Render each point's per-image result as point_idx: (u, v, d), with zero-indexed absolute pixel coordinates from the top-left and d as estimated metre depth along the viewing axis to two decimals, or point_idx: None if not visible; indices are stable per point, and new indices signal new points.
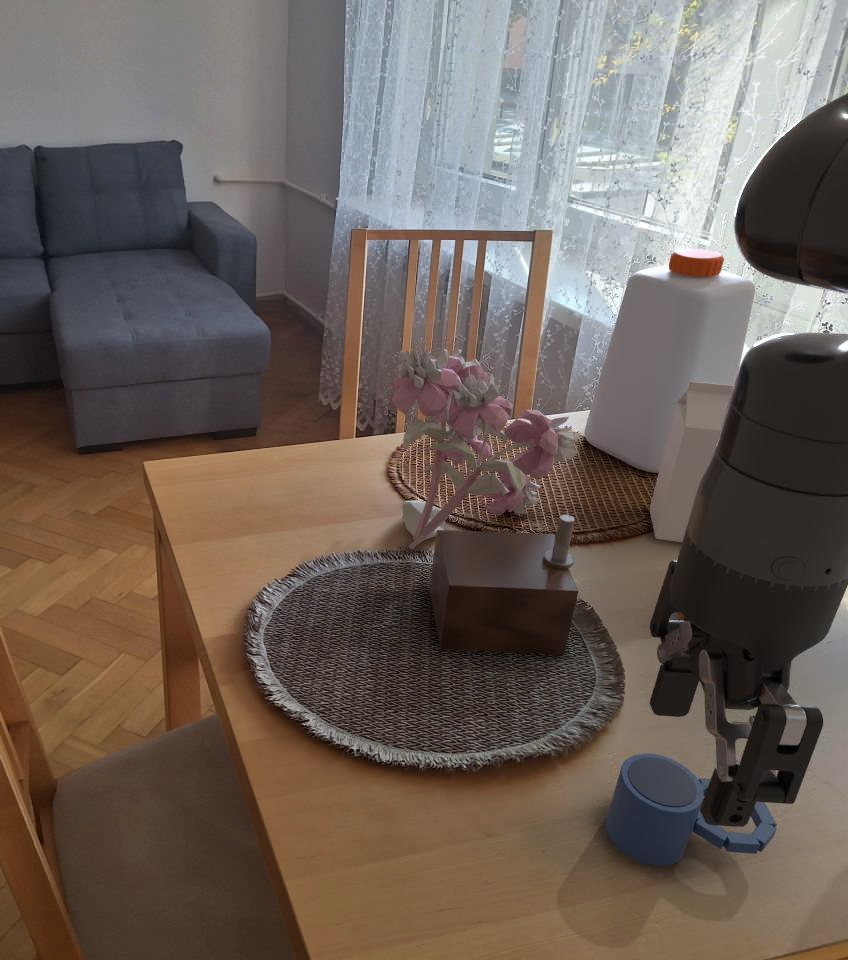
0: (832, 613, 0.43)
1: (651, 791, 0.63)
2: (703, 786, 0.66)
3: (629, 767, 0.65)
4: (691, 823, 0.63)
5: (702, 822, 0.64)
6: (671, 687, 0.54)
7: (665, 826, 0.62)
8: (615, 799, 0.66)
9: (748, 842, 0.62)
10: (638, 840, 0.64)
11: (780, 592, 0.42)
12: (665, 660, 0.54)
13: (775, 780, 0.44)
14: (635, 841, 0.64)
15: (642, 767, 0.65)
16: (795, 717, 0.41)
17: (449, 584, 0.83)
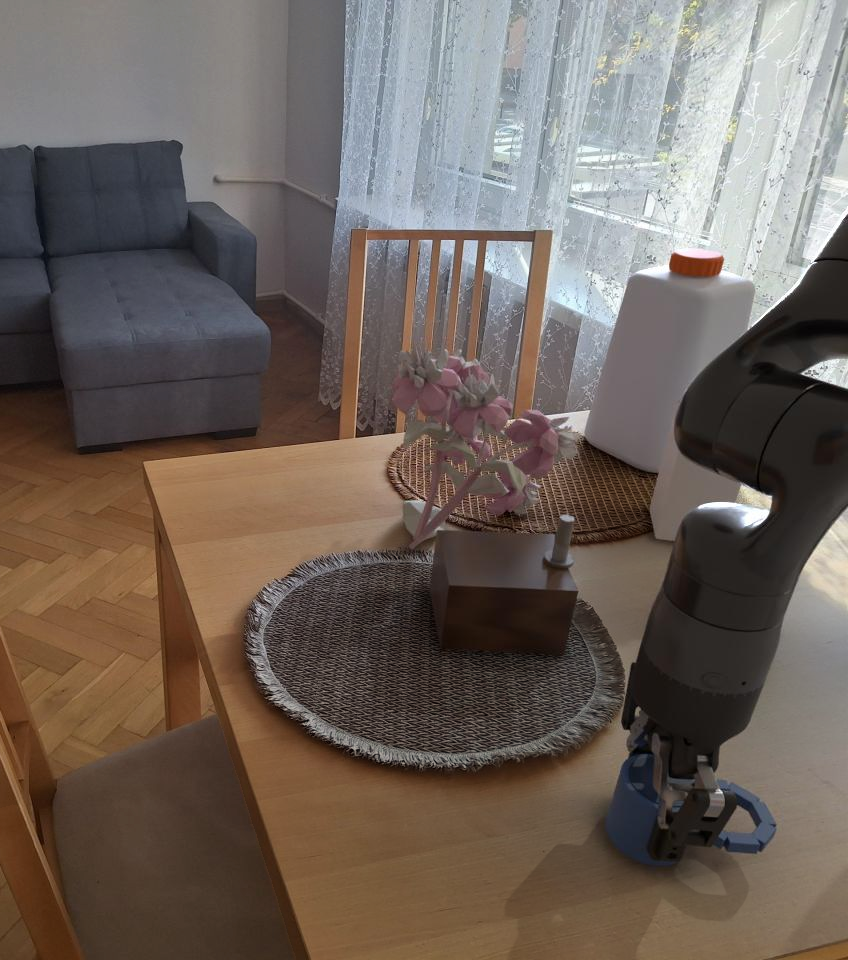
0: (749, 711, 0.56)
1: (651, 791, 0.63)
2: None
3: (629, 767, 0.65)
4: None
5: None
6: None
7: None
8: (615, 799, 0.66)
9: (748, 842, 0.62)
10: (638, 841, 0.64)
11: (709, 697, 0.55)
12: (632, 750, 0.66)
13: (698, 829, 0.59)
14: (635, 841, 0.64)
15: (642, 767, 0.65)
16: (716, 801, 0.55)
17: (449, 584, 0.83)
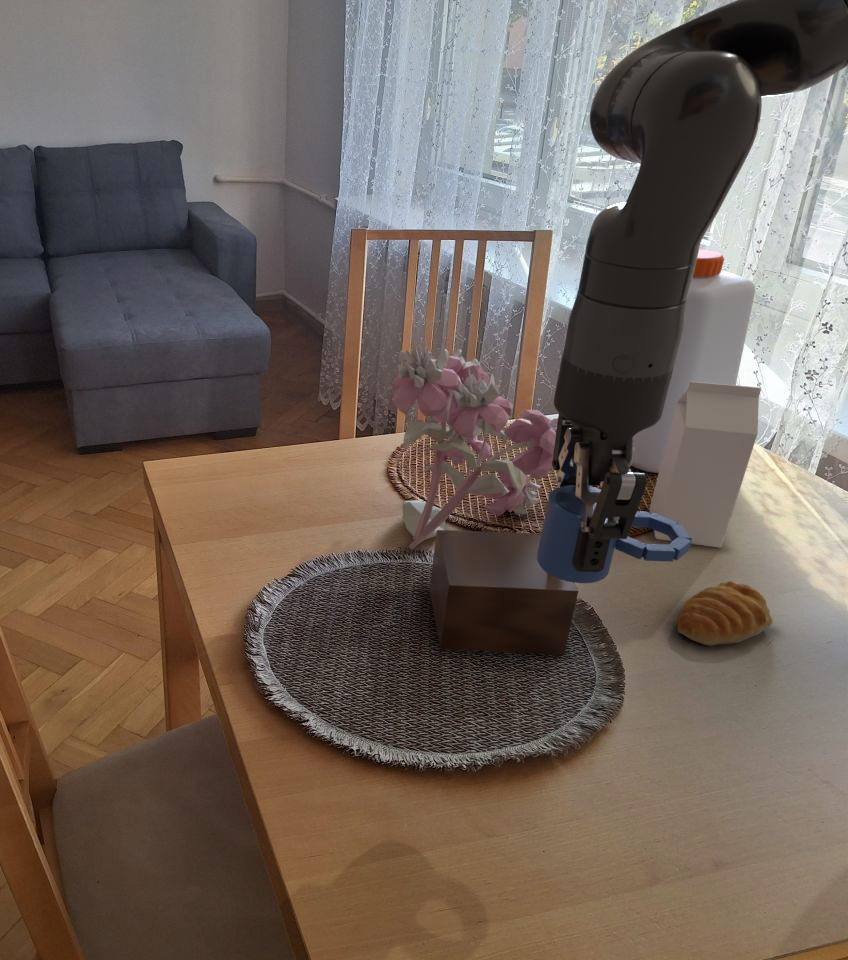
0: (658, 401, 0.61)
1: (576, 508, 0.68)
2: None
3: (556, 493, 0.70)
4: None
5: None
6: None
7: None
8: (544, 525, 0.70)
9: (664, 550, 0.67)
10: (565, 557, 0.68)
11: (619, 383, 0.60)
12: (561, 482, 0.71)
13: (615, 523, 0.63)
14: (562, 558, 0.69)
15: (569, 493, 0.70)
16: (628, 480, 0.60)
17: (449, 584, 0.83)
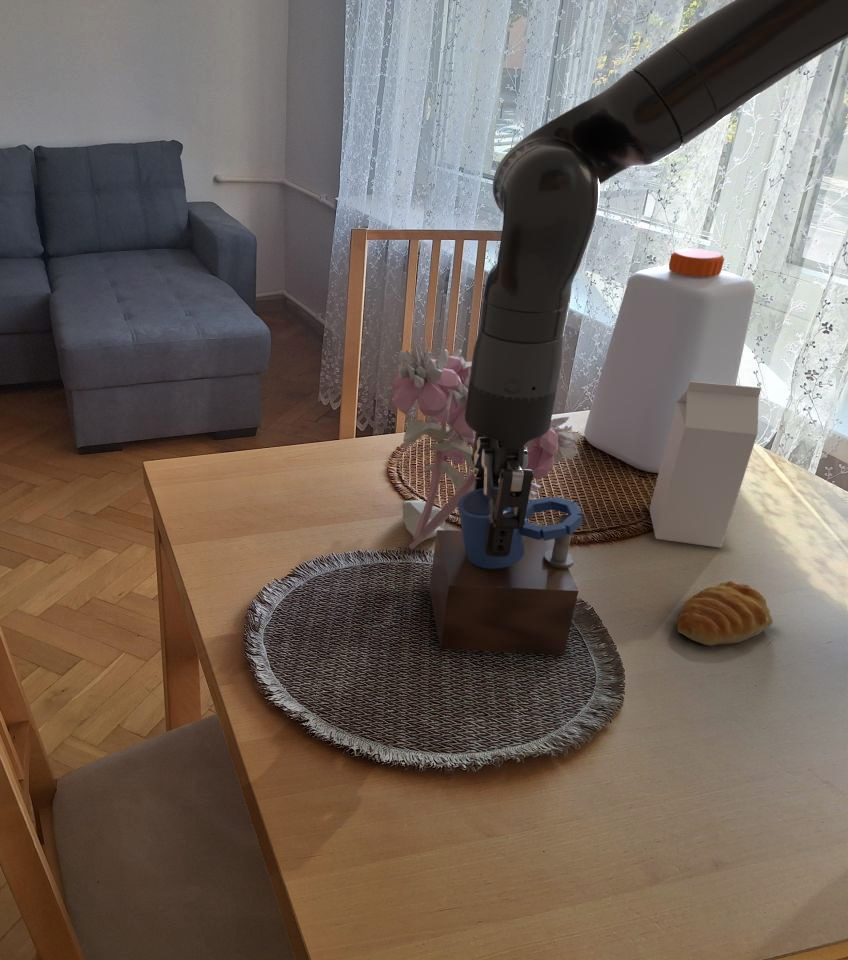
0: (543, 417, 0.75)
1: (478, 509, 0.83)
2: (531, 504, 0.85)
3: (464, 499, 0.85)
4: None
5: (524, 525, 0.83)
6: None
7: None
8: (461, 526, 0.85)
9: (557, 528, 0.81)
10: (480, 550, 0.83)
11: (510, 402, 0.74)
12: (476, 474, 0.86)
13: (514, 516, 0.77)
14: (478, 551, 0.84)
15: (475, 497, 0.85)
16: (517, 474, 0.74)
17: (449, 584, 0.83)
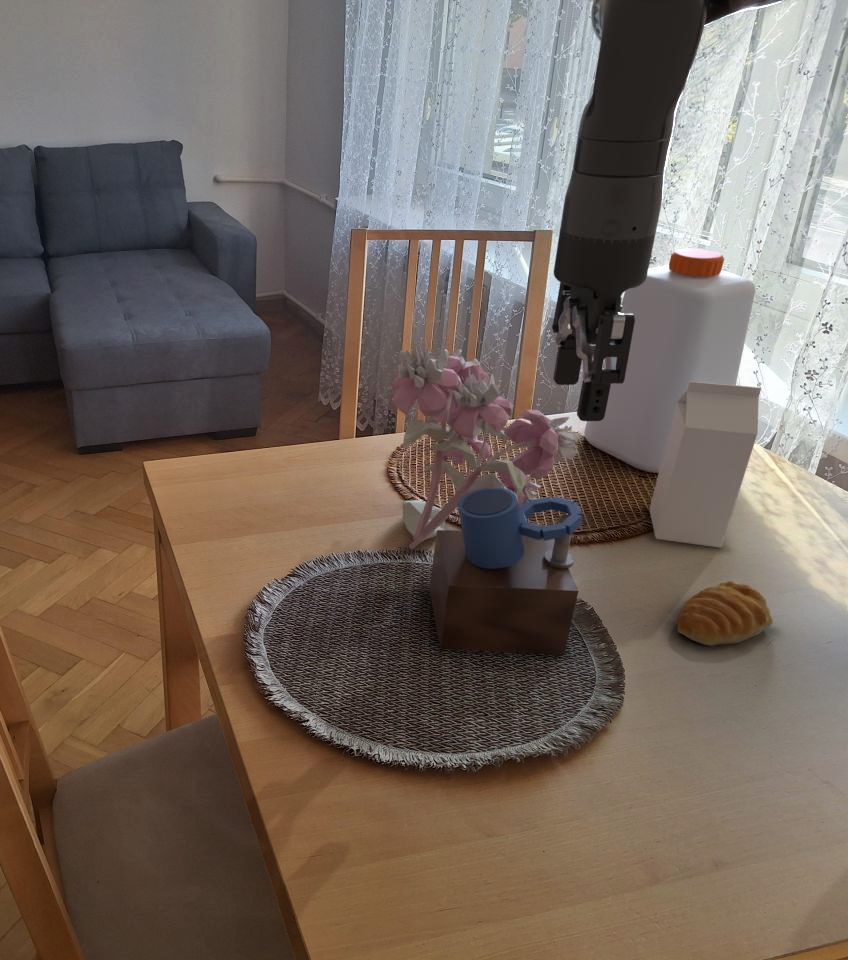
0: (642, 262, 0.71)
1: (478, 509, 0.83)
2: (531, 504, 0.85)
3: (464, 499, 0.85)
4: (511, 525, 0.82)
5: (524, 525, 0.83)
6: (565, 361, 0.83)
7: (491, 531, 0.82)
8: (461, 526, 0.85)
9: (557, 528, 0.81)
10: (480, 550, 0.83)
11: (608, 245, 0.70)
12: (560, 340, 0.82)
13: (613, 369, 0.73)
14: (478, 551, 0.84)
15: (475, 497, 0.85)
16: (618, 318, 0.70)
17: (449, 584, 0.83)
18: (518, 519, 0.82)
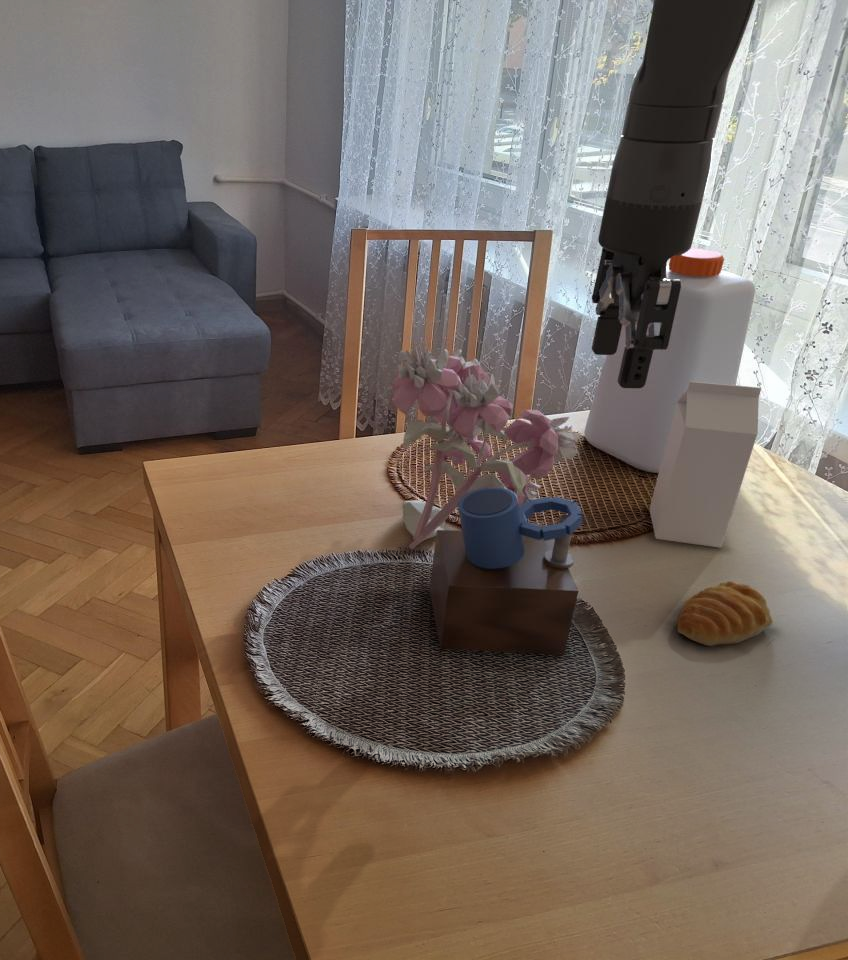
0: (689, 229, 0.72)
1: (478, 509, 0.83)
2: (531, 504, 0.85)
3: (464, 499, 0.85)
4: (511, 525, 0.82)
5: (524, 525, 0.83)
6: (604, 331, 0.84)
7: (491, 531, 0.82)
8: (461, 526, 0.85)
9: (557, 528, 0.81)
10: (480, 550, 0.83)
11: (656, 211, 0.71)
12: (600, 310, 0.83)
13: (657, 335, 0.73)
14: (478, 551, 0.84)
15: (475, 497, 0.85)
16: (665, 283, 0.71)
17: (449, 584, 0.83)
18: (518, 519, 0.82)
